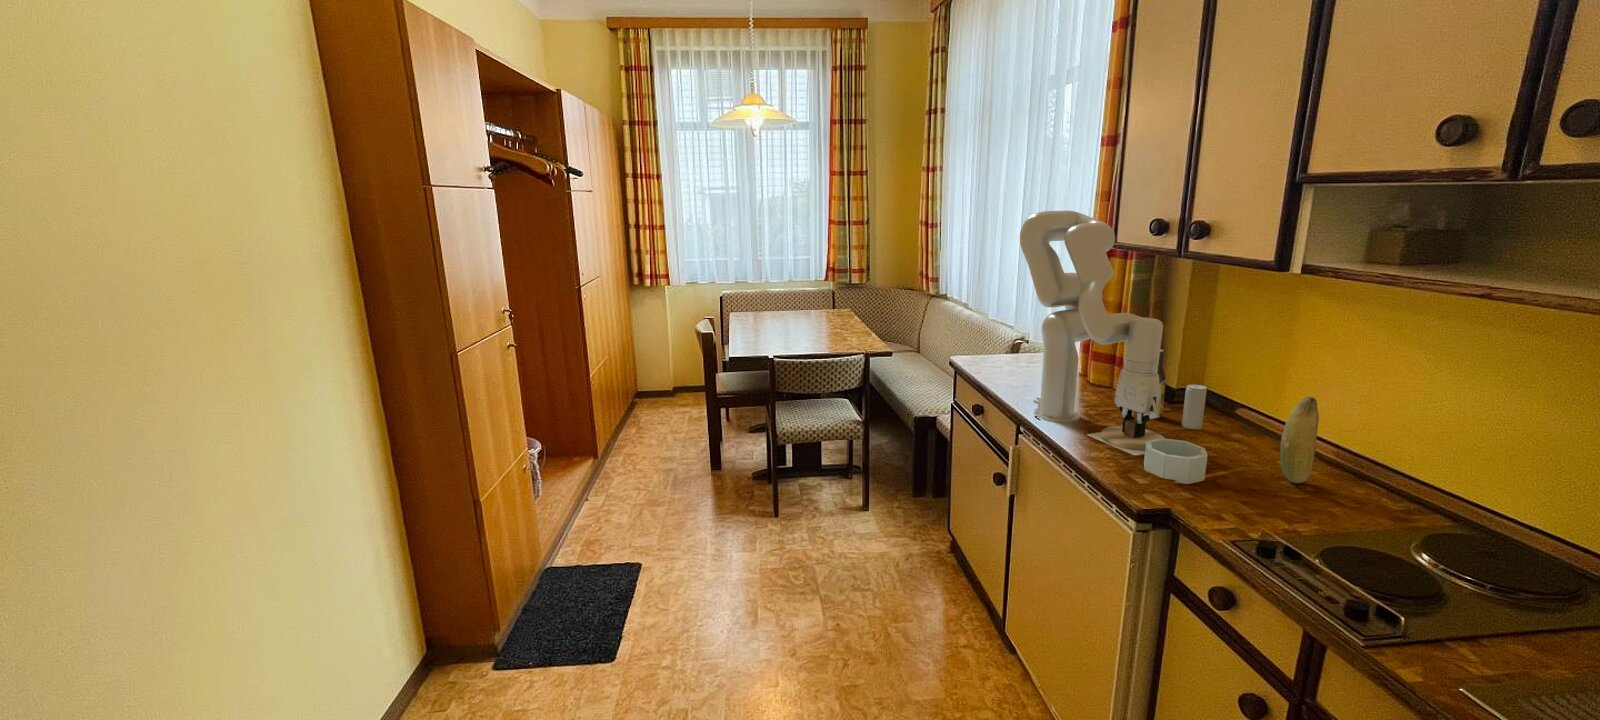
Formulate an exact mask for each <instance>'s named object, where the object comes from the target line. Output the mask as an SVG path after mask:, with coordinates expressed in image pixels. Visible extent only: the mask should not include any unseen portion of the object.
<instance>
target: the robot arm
mask: <svg viewBox="0 0 1600 720" xmlns="http://www.w3.org/2000/svg"><path fill="white" fill-rule="evenodd" d="M1061 241H1064V246H1065V248H1066V250H1067V252H1068V256H1069V258H1070V260H1071V262H1072V265H1073V268H1074V270H1075V271H1076V272H1065V271H1064V269H1063V267H1062V266H1063V265H1062V263H1061V259H1060V257H1059V255H1058V253H1057V252H1056V250H1055V249H1054V248H1053V247H1052V246H1051V245H1050V242H1061ZM1115 242H1116V234H1115V231H1114V229H1113V228H1112V227H1111V226H1110V225H1109V224H1108V223H1106V222H1104V221H1102V220H1100V219H1096V218H1093V217H1092V216H1091V217H1090V216H1088V215H1086V214H1083V213H1081V212H1078V211H1074V210H1045V211H1038V212H1036V213H1033V214H1031V215H1030V216H1028V217H1027V218H1026V219H1025V220H1024V222H1023V224H1022V226H1021V228H1020V232H1019V243H1020V248H1021V250H1022V253H1023V256H1024V258H1025V260H1026V263H1027V265H1028V268H1029V272H1030V273H1029V274H1030V275H1031V280H1032V283H1033V287H1034V290H1035V293H1036V296H1037V299H1038V301H1039V303H1040V304H1041V305H1042V306H1043V307H1045V308H1060V307H1064V308H1065V309H1063V310H1062V309H1061V310H1057V311H1054V312H1052V313H1050V314H1048V315H1047V316H1046V317H1045V318H1044V319H1043V321H1042V324H1041V336H1042V337H1041V338H1042V344H1043V346H1042V347H1043V349H1042V350H1043V352H1042V353H1043V354H1042V355H1043V358H1042V370H1041V371H1042V372H1041V384H1040V385H1041V386H1040V387H1041V388H1040V395H1038V396H1036V398H1034V399H1033V400H1032V402H1033V403H1034V404H1036V405H1037V408H1036V409H1034V410H1033V415H1034V414H1035V415H1036V416H1037V417H1039V418H1042V419H1044V420H1043V421H1046V420H1048V421H1047V422H1051V421H1052V422H1053V423H1065V424H1066V423H1074V422H1077V421H1079V420H1080V417H1081V415H1080V413H1079V412H1077V411H1076V409H1075V408H1076V397H1077V396H1076V395H1077V383H1078V374H1079V360H1080V359H1079V354H1078V353H1079V352H1078V350H1077V347H1076V342H1077V343H1079V342H1083V341H1088V340H1091V341H1092V342H1094V343H1095V344H1099V345H1110V344H1116V343H1122V342H1126V352H1125V357H1124V358H1123V359H1122V362H1123V363H1124V368H1121V371H1120V372H1119V375H1118V380H1117V383H1116V389H1115V394H1114V404H1115V406H1117V407H1118V409H1119V411H1120V412H1121V417H1122V418H1123V422H1122V426H1123V428H1122V432H1123V433H1124V430H1125V422H1126V420H1132V419H1135V416H1134V413H1136V414H1137V416H1136V420H1137V423H1135V429H1134V437H1135V438H1138V437H1143V436H1145V429H1146V428H1147V423H1149V422H1150V421H1151V420H1153V419H1159V418H1158V417H1159V413H1158V410H1157V409H1158V404H1159V393H1160V384H1159V375H1158V374H1157V371H1158V363H1159V355H1160V350H1161V345H1162V339H1163V330H1164V324H1163V322H1162V321H1161V320H1159V319H1158V318H1153V317H1152V318H1151V317H1143V316H1139V315H1136V314H1133V313H1129V312H1117V313H1109V314H1108V312H1107V310H1106V307H1105V305H1104V301H1103V292H1104V288H1105V287H1106V284H1107V283H1108V282H1109V281H1110V280H1111V279H1112V278H1113V277H1114V275H1115V271H1114V269H1113V266H1112V264H1111V261H1110V260H1109V258H1108V257H1109V256H1108V255H1107V252H1109V251H1111V250H1112V248H1113V246H1114V245H1115ZM1149 411H1150V414H1149ZM1143 414H1144V416H1143ZM1052 422H1051V423H1052ZM1146 430H1147V429H1146Z"/></svg>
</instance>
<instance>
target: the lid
mask: <svg viewBox="0 0 1600 720" xmlns="http://www.w3.org/2000/svg"><path fill="white" fill-rule="evenodd" d="M1135 423H1137V418H1136V419H1132V420H1126V422H1125V430H1124V433H1123V432H1122V428H1123V425H1117V426H1116V425H1114V426H1108V427H1105V428H1103V429H1102V430H1101V431H1100V432H1101V437H1102V438H1103V440H1105V441H1106V442H1108V443H1110V444H1113V445H1116V446H1119V447H1123V448H1127V449H1134V450H1145V448H1146V441H1149V440H1155V439H1160V438H1165V437H1164V436H1163V435H1161V434H1159V433H1157V432H1155V431H1153V430H1151V429H1150V430H1149V429H1145V436H1143V437H1138V438H1135V437H1134V429H1135Z"/></svg>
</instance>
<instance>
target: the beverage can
mask: <svg viewBox="0 0 1600 720" xmlns="http://www.w3.org/2000/svg"><path fill="white" fill-rule="evenodd" d="M1207 391H1208V390H1207V386H1204V385H1201V384H1193V383H1192V384H1191V383H1190V384H1187V385H1186V388H1185V393H1184V403H1183V411H1182V419H1181V426H1182V427H1183V428H1185V429H1189V430H1201V429H1202V427H1203V419H1204V412H1205V405H1206V397H1207Z"/></svg>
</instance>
